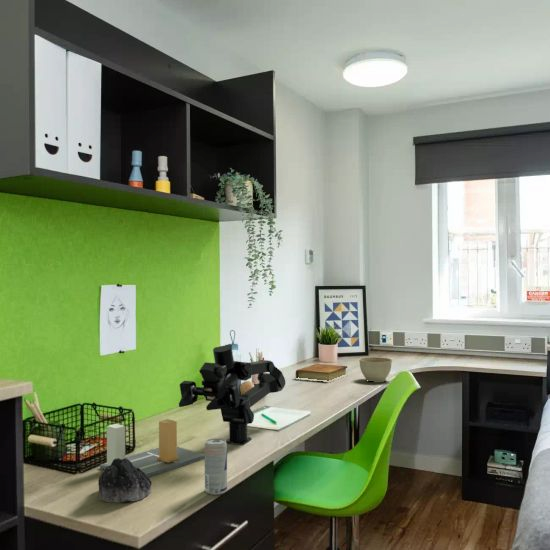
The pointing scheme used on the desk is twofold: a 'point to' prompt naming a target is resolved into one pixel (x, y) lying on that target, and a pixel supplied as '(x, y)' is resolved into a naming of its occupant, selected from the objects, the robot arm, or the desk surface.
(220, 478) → the energy drink
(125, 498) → the crystal cluster
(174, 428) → the block
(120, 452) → the cream fader
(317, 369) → the diary
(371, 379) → the planter bowl
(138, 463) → the grey marked board
